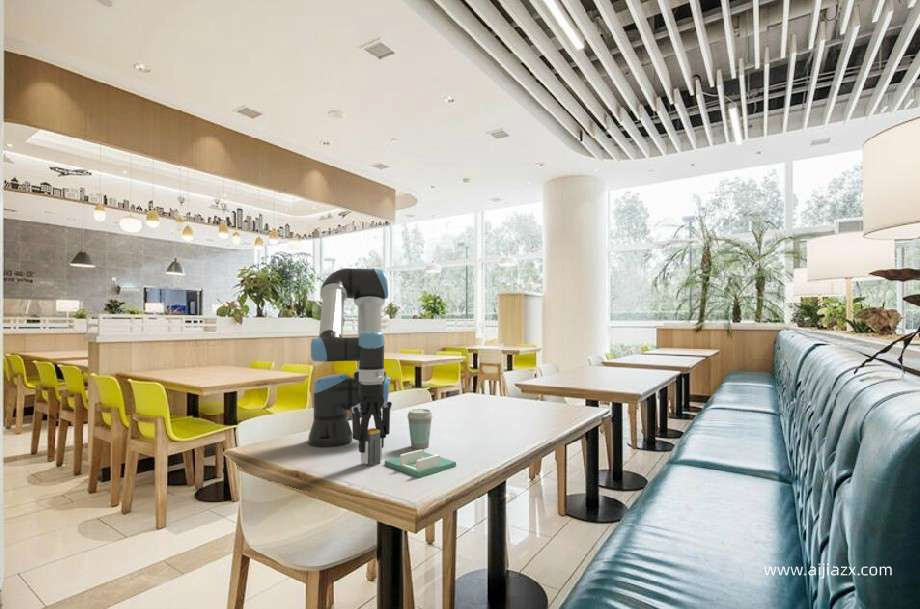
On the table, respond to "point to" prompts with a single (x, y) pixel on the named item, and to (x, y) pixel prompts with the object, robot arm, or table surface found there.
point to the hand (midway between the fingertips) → (371, 461)
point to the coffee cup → (419, 427)
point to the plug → (373, 446)
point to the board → (420, 463)
